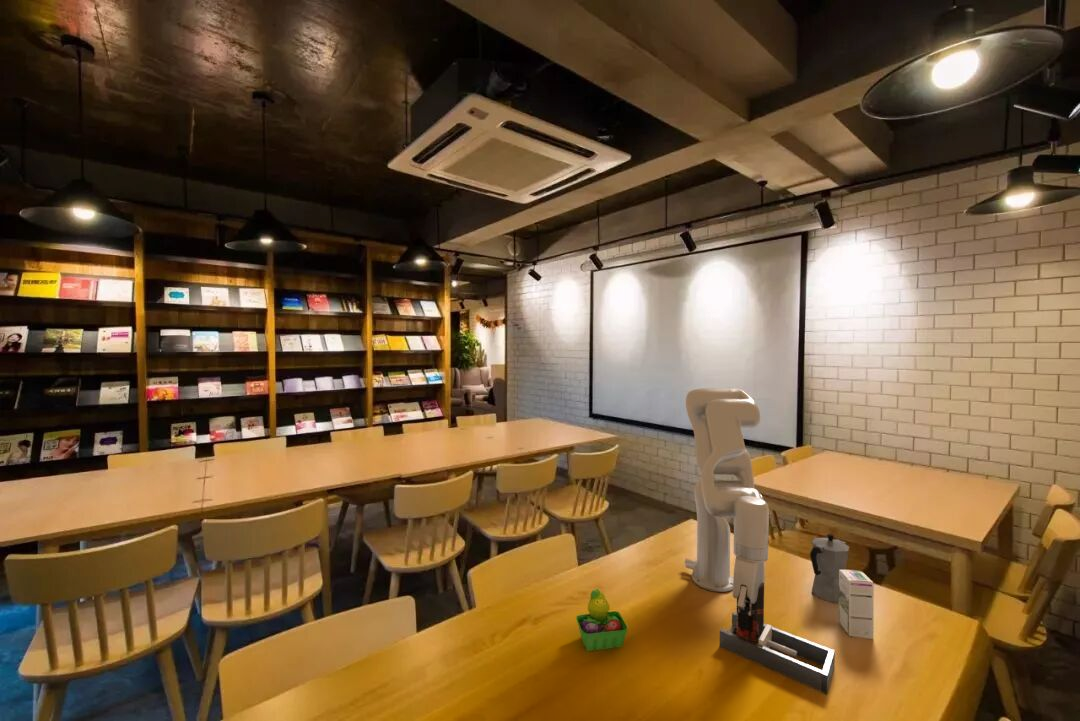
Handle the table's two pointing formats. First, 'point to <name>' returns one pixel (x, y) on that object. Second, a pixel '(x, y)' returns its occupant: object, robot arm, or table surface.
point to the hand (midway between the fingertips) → (749, 621)
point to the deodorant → (754, 618)
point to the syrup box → (856, 603)
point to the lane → (784, 656)
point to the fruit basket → (601, 624)
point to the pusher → (767, 642)
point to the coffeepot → (828, 566)
